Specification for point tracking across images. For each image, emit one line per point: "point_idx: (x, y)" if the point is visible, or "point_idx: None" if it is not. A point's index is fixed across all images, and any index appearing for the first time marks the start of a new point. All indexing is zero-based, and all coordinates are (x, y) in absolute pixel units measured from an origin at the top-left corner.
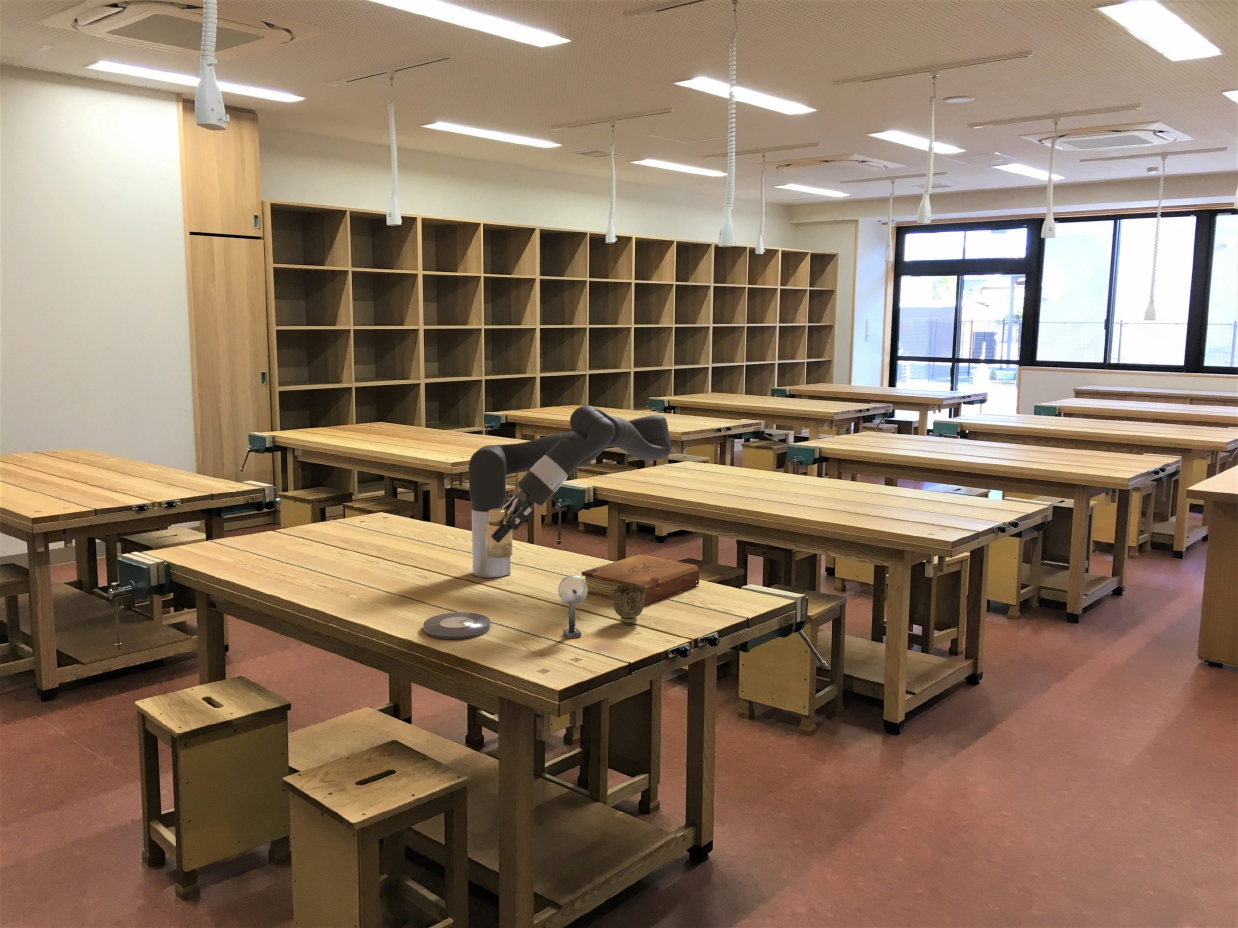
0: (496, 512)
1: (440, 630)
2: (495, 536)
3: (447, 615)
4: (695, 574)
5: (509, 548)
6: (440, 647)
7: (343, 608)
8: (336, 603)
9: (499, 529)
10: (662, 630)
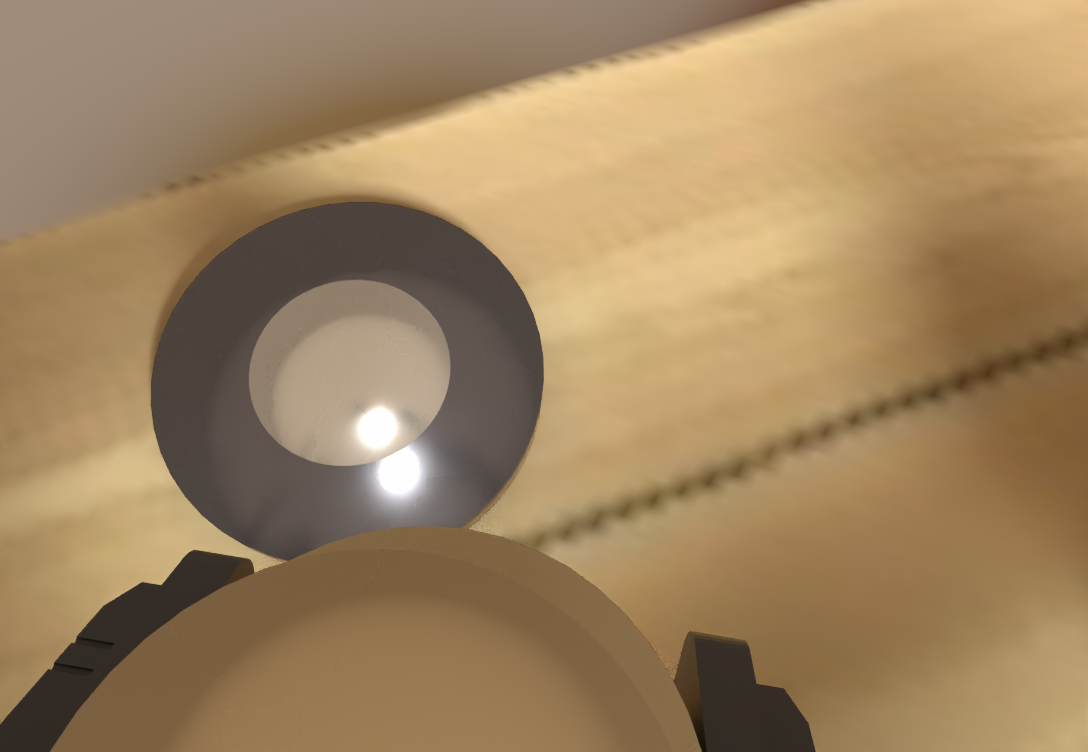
0: (116, 701)
1: (268, 248)
2: (137, 593)
3: (501, 367)
4: None
5: None
6: (138, 219)
7: (962, 39)
8: (1058, 34)
9: (95, 687)
10: None
